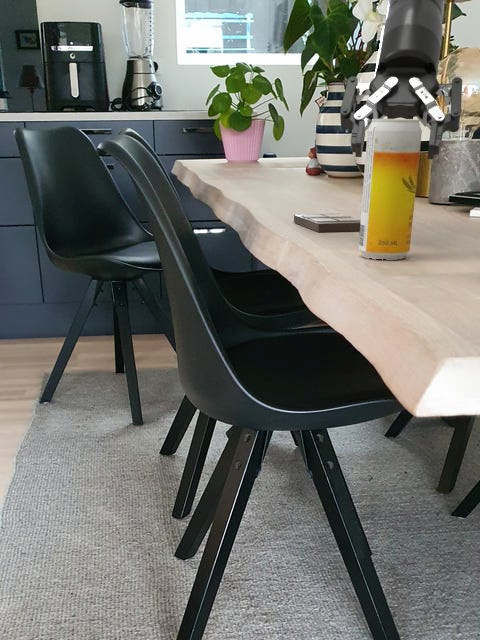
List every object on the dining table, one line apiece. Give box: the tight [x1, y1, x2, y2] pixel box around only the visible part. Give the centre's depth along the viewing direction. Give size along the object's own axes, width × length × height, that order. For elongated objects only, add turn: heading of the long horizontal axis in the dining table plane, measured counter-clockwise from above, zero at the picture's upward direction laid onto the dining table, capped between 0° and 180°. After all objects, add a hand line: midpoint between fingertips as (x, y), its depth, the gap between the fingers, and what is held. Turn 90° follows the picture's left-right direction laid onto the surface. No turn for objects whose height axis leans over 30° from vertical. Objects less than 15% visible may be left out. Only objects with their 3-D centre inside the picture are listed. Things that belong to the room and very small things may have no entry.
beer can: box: [358, 118, 423, 261], centre depth 93 cm, size 6×6×15 cm
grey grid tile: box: [293, 213, 361, 233], centre depth 120 cm, size 11×8×1 cm
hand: (394, 153), depth 94 cm, fingers open, 8 cm apart
